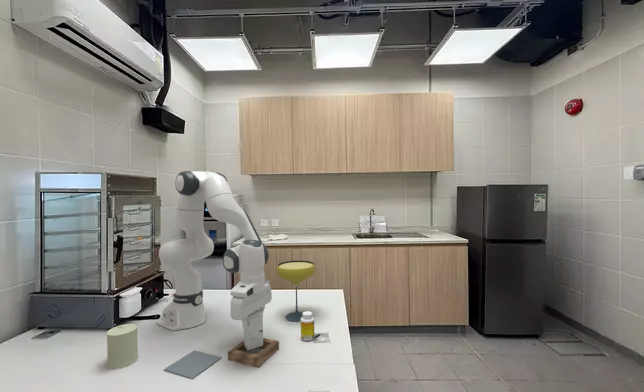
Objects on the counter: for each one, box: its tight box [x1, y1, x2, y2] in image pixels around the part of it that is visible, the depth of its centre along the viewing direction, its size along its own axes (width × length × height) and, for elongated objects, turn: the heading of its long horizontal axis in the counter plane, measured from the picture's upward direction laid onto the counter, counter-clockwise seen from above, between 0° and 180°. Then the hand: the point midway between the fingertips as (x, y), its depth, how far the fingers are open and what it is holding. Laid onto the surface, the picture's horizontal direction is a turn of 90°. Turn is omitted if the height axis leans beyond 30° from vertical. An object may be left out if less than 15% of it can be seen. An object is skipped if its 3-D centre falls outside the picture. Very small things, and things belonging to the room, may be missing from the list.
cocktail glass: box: [276, 260, 316, 323], centre depth 141 cm, size 18×18×25 cm
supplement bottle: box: [300, 311, 315, 342], centre depth 119 cm, size 6×6×10 cm
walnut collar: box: [227, 337, 280, 368], centre depth 108 cm, size 13×13×3 cm
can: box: [106, 323, 139, 370], centre depth 105 cm, size 9×9×12 cm
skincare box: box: [243, 309, 264, 351], centre depth 108 cm, size 6×4×12 cm
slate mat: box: [163, 350, 222, 380], centre depth 102 cm, size 13×13×1 cm
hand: (253, 322), depth 108 cm, fingers closed on skincare box, 7 cm apart
